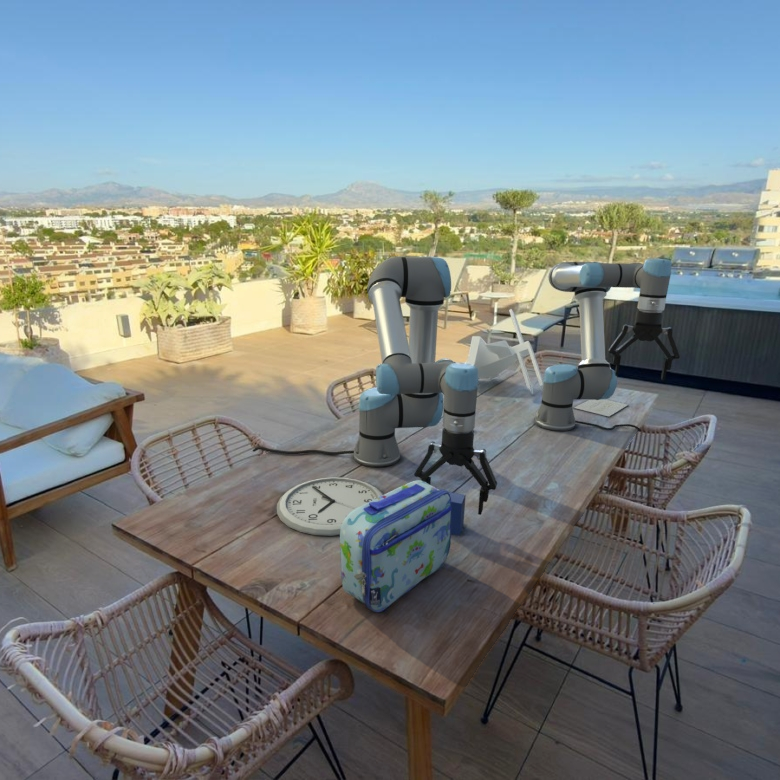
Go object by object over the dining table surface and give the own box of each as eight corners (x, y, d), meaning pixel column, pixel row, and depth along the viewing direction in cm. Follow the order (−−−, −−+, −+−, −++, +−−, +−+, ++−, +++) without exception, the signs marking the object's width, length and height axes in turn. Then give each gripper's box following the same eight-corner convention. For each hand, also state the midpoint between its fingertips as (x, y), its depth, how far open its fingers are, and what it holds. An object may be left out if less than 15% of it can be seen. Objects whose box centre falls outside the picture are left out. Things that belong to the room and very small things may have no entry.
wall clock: (392, 527, 129) (268, 531, 127) (391, 533, 130) (269, 537, 127) (383, 473, 158) (282, 475, 155) (383, 478, 158) (282, 480, 156)
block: (441, 532, 131) (443, 500, 128) (445, 522, 135) (447, 491, 133) (459, 535, 130) (461, 503, 127) (463, 526, 134) (465, 494, 131)
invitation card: (608, 416, 214) (573, 407, 224) (608, 416, 214) (573, 408, 224) (628, 404, 229) (594, 396, 238) (628, 405, 229) (594, 397, 238)
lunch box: (369, 626, 100) (370, 530, 93) (334, 598, 107) (332, 507, 101) (455, 567, 117) (460, 483, 111) (419, 547, 124) (423, 467, 118)
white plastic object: (478, 423, 260) (457, 400, 235) (460, 349, 282) (438, 321, 257) (551, 399, 247) (536, 372, 223) (525, 323, 270) (510, 291, 245)
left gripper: (403, 426, 125) (401, 505, 131) (509, 442, 117) (501, 524, 124) (412, 416, 131) (409, 491, 138) (513, 430, 124) (505, 508, 131)
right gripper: (607, 309, 161) (598, 376, 167) (698, 315, 153) (685, 384, 160) (606, 306, 168) (597, 370, 174) (693, 311, 160) (680, 378, 167)
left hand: (453, 507), depth 131 cm, fingers open, 13 cm apart
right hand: (639, 377), depth 167 cm, fingers open, 13 cm apart
